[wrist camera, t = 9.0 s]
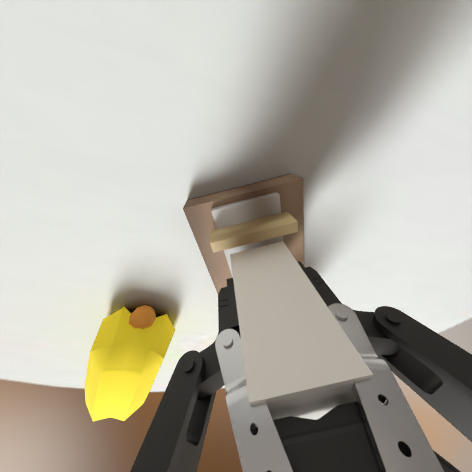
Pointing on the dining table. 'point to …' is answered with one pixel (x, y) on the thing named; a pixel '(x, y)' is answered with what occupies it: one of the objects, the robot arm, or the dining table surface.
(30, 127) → the dining table surface
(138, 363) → the yellow faceted pepper
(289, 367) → the loose white rectangular block
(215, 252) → the wooden ladder shelf
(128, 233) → the dining table surface
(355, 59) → the dining table surface
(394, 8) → the dining table surface
